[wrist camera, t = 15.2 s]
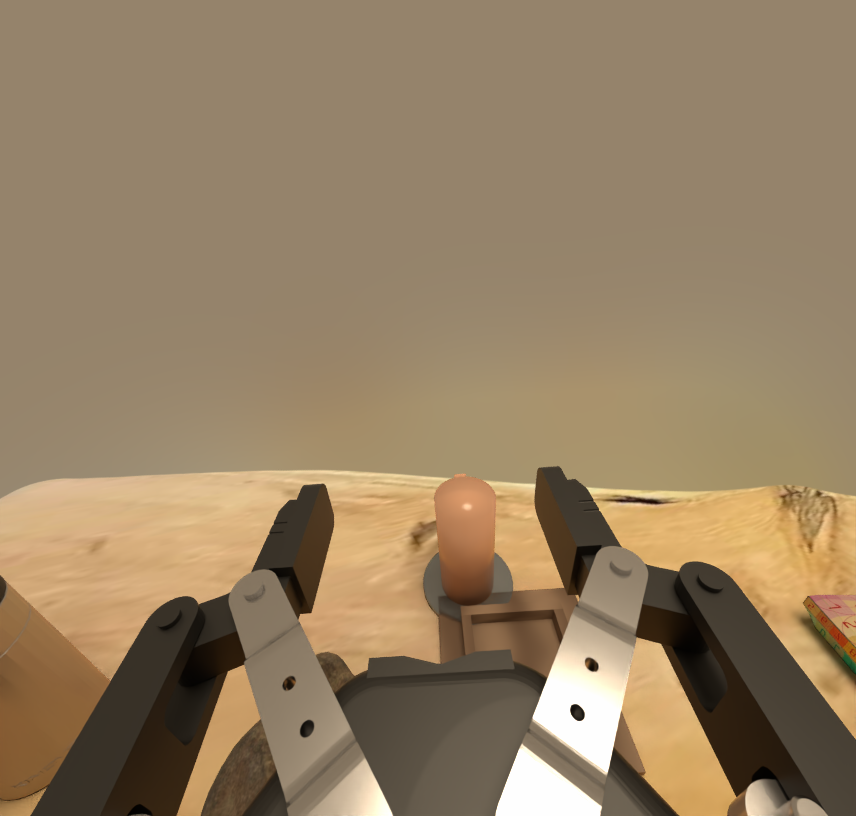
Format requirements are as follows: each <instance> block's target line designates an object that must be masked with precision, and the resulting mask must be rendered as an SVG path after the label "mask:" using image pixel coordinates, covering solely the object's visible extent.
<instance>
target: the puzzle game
mask: <svg viewBox="0 0 856 816" xmlns="http://www.w3.org/2000/svg"><path fill="white" fill-rule="evenodd" d="M803 604H804V606H805V608H806V609H807V611H808V612H809V615H810V617H811V619H812V621H813V623H814V626H815V628H816V629H817V630H818V631H819V632H820V634H821V635H822V636H823V637H824V638H825V639H826V641H827V642H828V643H829V644H830V645H831V646H832V648H833V649H834V650H835V651H836V652H837V653H838V654H839V656H840V657H841V658H842V659H843V660H844V661H845V663H846V664H847V665H848V666H849V667H850V668H851V670H852V671H853V672H854V673H855V674H856V595H814V596H808V597H807V598H806V600H805V601H804V602H803Z"/></svg>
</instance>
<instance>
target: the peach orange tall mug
mask: <svg viewBox="0 0 856 816" xmlns="http://www.w3.org/2000/svg"><path fill="white" fill-rule="evenodd" d="M434 501H435V512H436V524H437V535H438V547H439V559H440V570H441V582H442V587H443V590H444V592H445V594H446V595H447V597H448V598H449V599H451V600H452V601H453V602H455V603H457V604H460V605H463V606H473V605H478V604H480V603H482V602H484V601H485V600H486V599H487V598H488V597H489V596H490V594H491V592H492V590H493V585H494V548H495V512H496V495H495V492H494V490H493V489H492V487H491V486H490V485H489V484H487V483H486V482H484V481H482V480H480V479H477V478H474V477H466V474H455V475H454V478H452V479H449V480H447V481H445V482H444V483H442V484H441V485H440V486H439V487H438V489H437V490H436V492H435V496H434Z"/></svg>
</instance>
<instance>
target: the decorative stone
mask: <svg viewBox="0 0 856 816" xmlns="http://www.w3.org/2000/svg"><path fill="white" fill-rule="evenodd" d="M316 657H317V659H318V662H319V664H320V666H321V668H322V670H323V672H324V674H325V676H326V678H327V680H328V682H329V684H330V686H331V689H332V691H333V693H335V692H336V691H337V690H338V689H339V688H340V687H341V686H342V685H343V684H344V683H346V682H347V681H348V680H350V679H351V678H353V677H354V675H353V674H352V672H351V671H350V670H349V668H348V667H347V665H346V664H345V662H344V661H343V660H342V659H341V658H340V657H339V656H338V655H336V654H332V653H329V652H325V653H320V654H317V655H316ZM275 770H276V766H275V763H274V760H273V756H272V753H271V750H270V747H269V743H268V740H267V737H266V734H265V731H264V727H263V724H262V721H261V720H260V721H258V722H257V723H256V724H255V725H254V726H253V727H252V728H251V729H250V730H249V731H248V732H247V733H246V734H245V735H244V736H243V737H242V738H241V740H240V741H239V742H238V743H237V744H236V745H235V747H234V748H233V749H232V751H231V753H230V754H229V756H228V757H227V759H226V761H225V762H224V764H223V766H222V767H221V769H220V771H219V773H218V775H217V777H216V779H215V781H214V783H213V785H212V787H211V789H210V791H209V793H208V796H207V798H206V801H205V804H204V806H203V810H202V813H201V816H241V815H242V814H243V812H244V811H245V810H246V808H247V807H248V806H249V804H250V803H251V802H252V800H253V799H254V798H255V796H256V795H257V794H258V792H259V791H260V790H261V788H262V787H263V786H264V784H265V783H266V782H267V780H268V779H269V778H270V776H271V775H272V774H273V772H274V771H275Z"/></svg>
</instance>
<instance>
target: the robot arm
mask: <svg viewBox="0 0 856 816" xmlns="http://www.w3.org/2000/svg"><path fill="white" fill-rule="evenodd" d="M535 509H536V513H537V516H538V519H539V522H540V524H541V527H542V530H543V532H544V535H545V537H546V540H547V543H548V545H549V548H550V551H551V553H552V556H553V559H554V561H555V564H556V567H557V569H558V572H559V574H560V577H561V580H562V582H563V585H564V588H565V590H566V593H567V595H579V598H580V600H579V602H578V604H577V605H576V606H575V608H574V610H573V613H572V615H571V618H570V621H569V623H568V626H567V629H566V631H565V634H564V637H563V639H562V642H561V645H560V647H559V650H558V653H557V655H556V658H555V661H554V663H553V666H552V668H551V671H550V674H549V676H548V678H547V677H546V676H544V675H543V674H542V673H540V672H539V671H537V670H535V669H533V668H531V667H529V666H527V665H525V664H522V663H519V662H515V661H513V659H512V654H511V649H507V650H491V651H476V652H473V653H470V654H467V655H465V656H462V657H459V658H457V659H454V660H451V661H448V662H446V663H442V664H436V663H431V662H427V661H423V660H419V659H414V658H410V657H406V656H396V657H380V658H369V664H368V670H367V671H364V672H362V673H360V674H358V675H356V676H354V677H353V678H351V679H350V680H348V681H347V682H346V683H344V684H343V685H342V686H341V687H340V688H339V689H338V690H337V691H336V692H335V693H333V691H332V689H331V686H330V684H329V682H328V680H327V678H326V676H325V674H324V672H323V670H322V668H321V666H320V664H319V662H318V659H317V657H316V655H315V653H314V651H313V649H312V647H311V645H310V643H309V641H308V639H307V637H306V635H305V633H304V630H303V628H302V626H301V624H300V623H299V621H298V619H299V616H300V614H306V613H312V609H313V605H314V601H315V597H316V593H317V590H318V586H319V582H320V578H321V574H322V571H323V567H324V563H325V559H326V555H327V552H328V548H329V544H330V540H331V536H332V533H333V528H334V514H333V510H332V506H331V503H330V499H329V496H328V492H327V488H326V486H325V484H313V485H304V486H303V487H302V488H301V491H300V493H299V496H298V498H297V500H289V501H288V502H287V503H286V504H285V505H284V506H283V507H282V508H281V509H280V511H279V512H278V515H277V517H276V519H275V521H274V525H273V526H272V528H271V530H270V532H269V533H270V534H269V535H268V537H267V539H266V541H265V543H264V545H263V548H262V550H261V552H260V554H259V556H258V559H257V561H256V563H255V565H254V567H253V570H252V572H251V573H249V574H247V575H246V576H244V577H243V578H242V579H240V580H239V581H238V582H237V583H236V584H235V586H234V587H233V589H232V590H231V592H230V593H228V594H226V595H223V596H221V597H218V598H215V599H212V600H210V601H207V602H204V603H201V604H198V603H197V601H196V600H195V599H194V598H192V597H188V596H183V597H178V598H175V599H173V600H170V601H169V602H167V603H165V604H163V605H162V606H161V607H159V608H158V609H157V610H156V611H155V612H154V613H153V614H152V615H151V616H150V617H149V618H148V620H147V621H146V623H145V624H144V626H143V628H142V629H141V631H140V633H139V634H138V636H137V638H136V639H135V641H134V643H133V645H132V646H131V648H130V650H129V651H128V653H127V655H126V656H125V658H124V660H123V661H122V663H121V665H120V666H119V668H118V670H117V671H116V673H115V675H114V676H113V678H112V680H111V681H110V680H109V679H108V678H106V677H105V676H104V675H103V674H102V673H101V672H100V671H99V670H98V669H97V668H96V667H95V666H94V665H93V664H92V663H91V662H90V661H89V660H88V659H87V658H86V657H85V656H84V655H83V654H82V653H81V652H80V651H79V650H78V649H77V648H76V647H74V646H73V645H72V644H71V643H70V642H69V641H68V640H67V639H66V638H65V637H64V636H63V635H62V634H61V633H60V632H59V631H58V630H57V629H56V628H55V627H54V626H53V625H51V624H50V623H49V622H48V621H47V620H46V619H45V618H44V617H43V616H42V615H41V614H40V613H39V612H38V611H37V610H36V609H35V608H34V607H33V606H32V605H31V604H30V603H28V602H27V601H26V600H25V599H24V598H23V597H22V596H21V595H20V594H19V593H18V592H17V591H16V590H15V589H14V588H12V587H11V586H10V585H9V584H8V583H7V582H6V581H5V580H4V578H2V577H1V576H0V799H2V800H13V799H19V798H22V797H25V796H27V795H30V794H32V793H34V792H36V791H38V790H40V789H42V788H44V787H46V786H47V785H48V784H49V786H48V787H47V789H46V791H45V792H44V794H43V796H42V797H41V799H40V801H39V802H38V804H37V806H36V808H35V809H34V811H33V813H32V814H31V816H176V815H177V813H178V810H179V807H180V804H181V801H182V799H183V796H184V793H185V790H186V787H187V785H188V782H189V779H190V776H191V773H192V771H193V768H194V765H195V762H196V759H197V756H198V754H199V751H200V748H201V745H202V742H203V740H204V737H205V734H206V731H207V728H208V726H209V723H210V720H211V717H212V714H213V712H214V709H215V706H216V703H217V700H218V698H219V695H220V692H221V689H222V686H223V683H224V681H225V678H226V675H227V672H228V671H230V670H232V669H234V668H237V667H239V666H242V665H245V669H246V672H247V675H248V679H249V682H250V685H251V688H252V692H253V695H254V698H255V701H256V705H257V708H258V711H259V714H260V718H261V721H262V724H263V727H264V731H265V734H266V737H267V740H268V743H269V747H270V750H271V753H272V756H273V760H274V763H275V766H276V770H275V771H274V772H273V774H272V775H271V776H270V778H269V779H268V780H267V782H266V783H265V784H264V786H263V787H262V788H261V790H260V791H259V792H258V794H257V795H256V796H255V798H254V799H253V800H252V802H251V803H250V804H249V806H248V807H247V808H246V810H245V811H244V812H243V814H242V815H241V816H679V815H678V814H677V813H676V812H675V811H674V810H673V809H672V808H671V807H670V806H669V805H668V803H667V802H666V801H665V800H664V799H663V798H662V797H661V796H660V795H659V794H658V793H657V792H656V791H655V790H654V789H653V788H652V787H651V785H650V784H649V783H648V782H647V781H646V780H645V779H644V778H643V777H642V776H641V775H640V774H639V773H638V772H637V771H636V770H635V769H634V768H633V766H632V765H631V764H630V763H629V762H628V761H627V760H626V759H625V758H624V757H623V756H622V755H621V754H620V753H619V752H618V751H617V749H616V748H615V747H614V746H613V744H614V740H615V735H616V731H617V726H618V722H619V717H620V712H621V708H622V703H623V699H624V694H625V689H626V685H627V680H628V676H629V671H630V666H631V662H632V657H633V653H634V648H635V643H636V637H638V638H641V639H645V640H649V641H653V642H656V643H660V644H662V646H663V648H664V650H665V652H666V654H667V657H668V659H669V661H670V663H671V665H672V667H673V669H674V671H675V673H676V675H677V677H678V679H679V681H680V683H681V685H682V687H683V689H684V691H685V693H686V695H687V697H688V699H689V701H690V703H691V705H692V707H693V710H694V712H695V714H696V716H697V718H698V720H699V722H700V724H701V726H702V728H703V730H704V732H705V734H706V736H707V738H708V740H709V742H710V744H711V746H712V748H713V750H714V752H715V754H716V756H717V758H718V760H719V763H720V765H721V767H722V769H723V771H724V773H725V775H726V777H727V779H728V781H729V783H730V785H731V787H732V789H733V791H734V793H735V795H736V797H737V798H736V799H734V800H733V801H732V803H731V804H730V806H729V809H728V814H727V816H856V739H855V738H854V737H853V736H852V734H851V733H850V732H849V730H848V729H847V728H846V726H845V725H844V724H843V722H842V721H841V720H840V719H839V717H838V716H837V715H836V713H835V712H834V711H833V709H832V708H831V707H830V705H829V704H828V703H827V702H826V700H825V699H824V698H823V696H822V695H821V694H820V692H819V691H818V690H817V688H816V687H815V686H814V685H813V683H812V682H811V681H810V679H809V678H808V677H807V675H806V674H805V673H804V671H803V670H802V669H801V668H800V666H799V665H798V664H797V662H796V661H795V660H794V658H793V657H792V656H791V654H790V653H789V652H788V651H787V649H786V648H785V647H784V645H783V644H782V643H781V641H780V640H779V639H778V637H777V636H776V635H775V633H774V632H773V631H772V630H771V628H770V627H769V626H768V624H767V623H766V622H765V620H764V619H763V618H762V616H761V615H760V614H759V613H758V611H757V610H756V609H755V607H754V606H753V605H752V603H751V602H750V601H749V599H748V598H747V597H746V596H745V594H744V593H743V592H742V590H741V589H740V588H739V586H738V585H737V584H736V583H735V581H734V580H733V579H732V578H731V577H730V576H729V575H727V574H726V573H725V572H723V571H722V570H720V569H718V568H717V567H715V566H712V565H710V564H707V563H703V562H688V563H685V564H684V565H683V566H682V567H681V568H680V571H679V572H678V571H673V570H668V569H663V568H659V567H654V566H650V565H647V564H645V563H644V562H643V561H642V560H641V559H640V558H639V557H638V556H637V555H636V554H635V553H633V552H631V551H629V550H627V549H625V548H622V547H621V545H620V544H619V542H618V541H617V539H616V537H615V535H614V534H613V532H612V530H611V529H610V527H609V525H608V524H607V522H606V520H605V518H604V517H603V515H602V513H601V512H600V511H599V508H598V507H597V505H596V503H595V502H594V501H593V498H592V496H591V495H590V493H589V491H588V490H587V488H586V487H584V486H583V485H582V484H581V483H579V482H578V481H577V480H576V479H572V480H567V479H566V477H565V475H564V473H563V471H562V469H561V468H560V467H559V466H557V467H543V468H538V471H537V479H536V488H535Z"/></svg>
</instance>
